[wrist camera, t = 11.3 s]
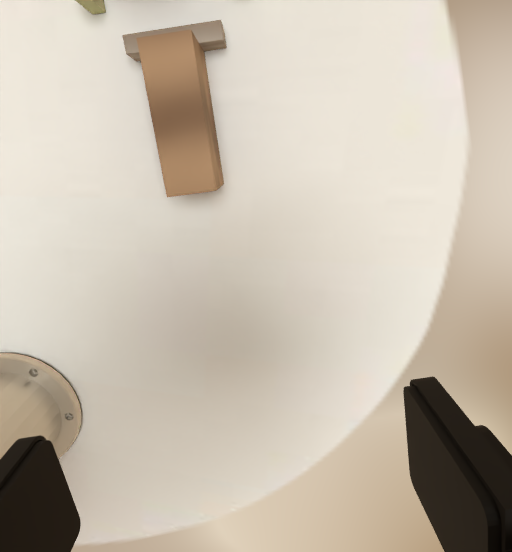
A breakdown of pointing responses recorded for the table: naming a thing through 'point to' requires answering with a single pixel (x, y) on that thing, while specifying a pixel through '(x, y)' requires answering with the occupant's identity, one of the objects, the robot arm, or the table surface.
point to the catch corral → (93, 6)
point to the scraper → (181, 103)
